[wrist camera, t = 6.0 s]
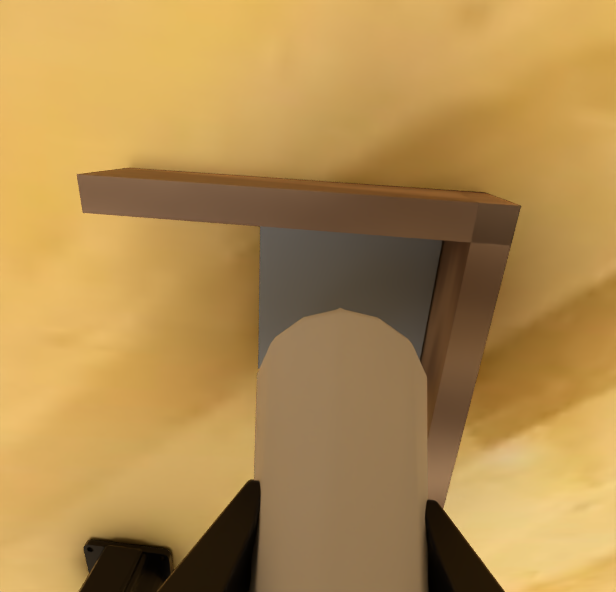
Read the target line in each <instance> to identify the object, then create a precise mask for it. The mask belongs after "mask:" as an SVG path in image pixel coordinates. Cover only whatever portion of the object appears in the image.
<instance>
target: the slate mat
mask: <svg viewBox="0 0 616 592" xmlns="http://www.w3.org/2000/svg"><path fill="white" fill-rule="evenodd" d="M442 241H443V240H432V239H419V238H406V237H393V236H380V235H367V234H354V233H341V232H328V231H315V230H302V229H288V228H275V227H262V226H260V281H259V355H258V369H259V368H260V366H261V364H262V362H263V360H264V357H265V355H266V353H267V351H268V348H269V346H270V344H271V342H272V341H273V340H274V338H275V337H276V336H278V335H279V334H280V333H282V332H283V331H285V330H286V329H287V328H289V327H290V326H292V325H293V324H294V323H296V322H297V321H299V320H300V319H301V318H303V317H306V316H311V315H315V314H319V313H324V312H328V311H333V310H336V309H339V308H342V309H344V310H348V311H352V312H357V313H361V314H365V315H369V316H373V317H378V318H379V319H381V320H382V321H384V322H385V323H386V324H388V325H389V326H391V327H392V328H393V329H395V330H396V331H398V332H399V333H401V334H402V335H403V336H405V337H406V338H408V340H409V341H410V342H411V343H412V345H413V347H414V349H415V351H416V353H417V356H418V358H419V360H420V356H421V351H422V346H423V341H424V335H425V330H426V325H427V320H428V314H429V309H430V304H431V299H432V293H433V288H434V283H435V277H436V272H437V267H438V262H439V256H440V251H441V246H442Z"/></svg>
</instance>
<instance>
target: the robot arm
mask: <svg viewBox="0 0 616 592" xmlns="http://www.w3.org/2000/svg"><path fill="white" fill-rule="evenodd" d="M260 501H261V487H260V481H259V480H249V481H248V482H247V483H246V484H245V485H244V486H243V488H242V489H241V490H240V491H239V492H238V494H237V495H236V496H235V497H234V499H233V500H232V501H231V502H230V503H229V505H228V506H227V507H226V508H225V509H224V511H223V512H222V513H221V514H220V516H219V517H218V518H217V519H216V520H215V522H214V523H213V524H212V525H211V526H210V528H209V529H208V530H207V531H206V533H205V534H204V535H203V536H202V537H201V539H200V540H199V541H198V542H197V543H196V545H195V546H194V547H193V548H192V550H191V551H190V552H189V553H188V554H187V556H186V557H185V558H184V559H183V560H182V562H181V563H180V564H179V565H178V567H177V568H176V569H175V570H174V571H173V564H172V555H171V552H170V551H169V550H167V549H162V548H154V547H146V546H138V545H130V544H122V543H114V542H106V541H98V540H88V541H87V543H86V544H85V546H84V553H85V557H86V562H87V566H88V571H89V575H88V577H87V578H86V580H85V582H84V583H83V585H82V587H81V588H80V590H79V592H249V587H250V580H251V559H252V552H253V547H254V541H255V536H256V529H257V523H258V517H259V511H260ZM425 525H426V534H427V543H428V586H429V592H505V591H504V590H503V589H502V587H501V586H500V585H499V583H498V582H497V581H496V579H495V578H494V577H493V575H492V574H491V573H490V571H489V570H488V568H487V567H486V566H485V564H484V563H483V562H482V560H481V559H480V558H479V556H478V555H477V554H476V552H475V551H474V550H473V548H472V547H471V546H470V544H469V543H468V542H467V540H466V539H465V538H464V536H463V535H462V534H461V532H460V531H459V530H458V528H457V527H456V526H455V524H454V523H453V522H452V520H451V519H450V518H449V516H448V515H447V514H446V512H445V511H444V510H443V508H442V507H441V506H440V504H439V503H438V502H437V501H435V500H430V499H428V500H427V502H426V509H425Z"/></svg>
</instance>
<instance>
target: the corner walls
mask: <svg viewBox="0 0 616 592" xmlns="http://www.w3.org/2000/svg"><path fill="white" fill-rule="evenodd" d="M77 179H78V185H79V192H80V198H81V205H82V211H83V213H93V214H106V215H119V216H132V217H145V218H158V219H171V220H184V221H197V222H210V223H223V224H236V225H249V226H262V227H275V228H288V229H302V230H315V231H328V232H341V233H354V234H367V235H380V236H393V237H406V238H419V239H432V240H443V241H442V246H441V251H440V256H439V262H438V267H437V272H436V277H435V283H434V288H433V293H432V299H431V304H430V309H429V314H428V320H427V325H426V330H425V335H424V341H423V346H422V351H421V356H420V362H421V365H422V367H423V369H424V371H425V374H426V376H427V463H428V499H430V500H435V501H437V502H438V503H439V504H440V506H441V507H442V508H443V507H444V503H445V500H446V496H447V492H448V488H449V484H450V480H451V476H452V472H453V468H454V465H455V461H456V457H457V453H458V449H459V445H460V441H461V437H462V433H463V430H464V426H465V422H466V418H467V414H468V410H469V406H470V402H471V398H472V395H473V391H474V387H475V383H476V379H477V375H478V371H479V367H480V363H481V360H482V356H483V352H484V348H485V344H486V340H487V336H488V332H489V328H490V325H491V321H492V317H493V313H494V309H495V305H496V301H497V297H498V293H499V290H500V286H501V282H502V278H503V274H504V270H505V266H506V262H507V259H508V255H509V251H510V247H511V243H512V239H513V235H514V231H515V227H516V224H517V220H518V216H519V212H520V208H521V206H520V205H518V204H515V203H512V202H509V201H507V200H504V199H501V198H498V197H496V196H493V195H490V194H487V193H484V192H470V191H455V190H441V189H426V188H412V187H398V186H383V185H369V184H354V183H340V182H325V181H311V180H297V179H282V178H268V177H253V176H239V175H224V174H210V173H196V172H181V171H167V170H152V169H138V168H123V169H115V170H107V171H99V172H91V173H83V174H77Z"/></svg>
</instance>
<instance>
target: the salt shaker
mask: <svg viewBox="0 0 616 592" xmlns="http://www.w3.org/2000/svg"><path fill="white" fill-rule="evenodd" d="M254 480H259V481H260V487H261V501H260V511H259V517H258V523H257V529H256V536H255V541H254V547H253V552H252V559H251V580H250V587H249V592H429V586H428V543H427V534H426V525H425V509H426V502H427V500H428V463H427V376H426V374H425V371H424V369H423V367H422V365H421V362H420V360H419V358H418V356H417V353H416V351H415V349H414V347H413V345H412V343H411V342H410V341H409V340H408V338H406V337H405V336H403V335H402V334H401V333H399V332H398V331H396V330H395V329H393V328H392V327H391V326H389V325H388V324H386V323H385V322H384V321H382V320H381V319H379V318H378V317H373V316H369V315H365V314H361V313H357V312H352V311H348V310H344V309H342V308H339V309H336V310H333V311H328V312H324V313H319V314H315V315H311V316H306V317H303V318H301V319H300V320H299V321H297V322H296V323H294V324H293V325H292V326H290V327H289V328H287V329H286V330H285V331H283V332H282V333H280V334H279V335H278V336H276V337H275V338H274V340H273V341H272V342H271V344H270V346H269V348H268V351H267V353H266V355H265V357H264V360H263V362H262V364H261V366H260V368H259V371H258V373H257V394H256V427H255V460H254Z"/></svg>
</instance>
